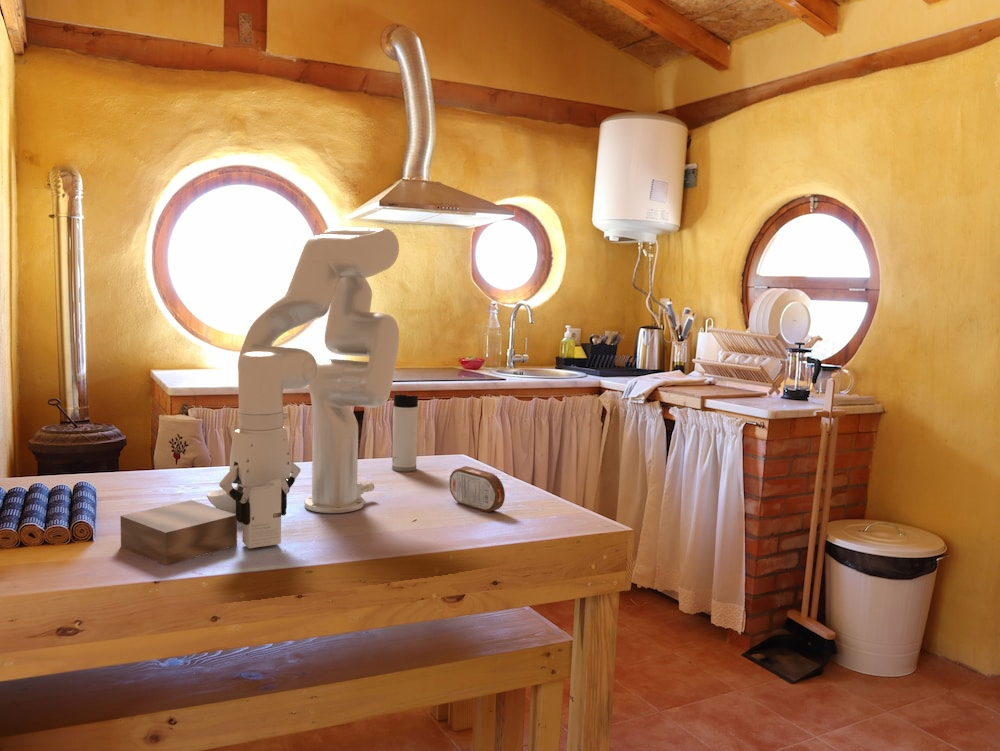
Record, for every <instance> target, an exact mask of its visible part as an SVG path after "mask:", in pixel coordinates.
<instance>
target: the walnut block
mask: <svg viewBox="0 0 1000 751" xmlns="http://www.w3.org/2000/svg"><path fill="white" fill-rule="evenodd" d="M119 519H120V548H122V549H125V550H126V551H127V550H128V551H130V552H132V553H134V554H137V555H139V554H140V555H139V556H141V555H142V557H144V558H146V557H147V559H148V560H149V559H150V560H151V561H154V562H156V561H157V562H156V563H158V562H159V563H158V564H161V565H163V566H170V565H173V564H176V563H180V562H184V561H186V560H190V558H191V559H194V558H197V557H196V556H198V557H200V556H199V555H201V556H204V555H203V554H205V555H207V554H206V553H208V554H211V553H214V551H215V552H218V551H221V550H220V549H222V550H225V549H228V548H227V547H229V548H231V546H232V547H235V546H234V545H236V546H238V521H237V518H236V513H230V512H227V511H224V510H220V509H218V508H217V507H215V506H212V505H211V506H210V505H207V504H205V503H201V502H198V501H195V500H193V499H192V500H191V499H190V500H186V501H183V502H177V503H171V504H169V505H164V506H159V507H155V508H154V507H153V508H150V509H146V510H141V511H137V512H131V513H128V514H123V515H120V518H119ZM224 548H225V549H224ZM217 550H218V551H217ZM210 552H211V553H210ZM193 557H194V558H193Z"/></svg>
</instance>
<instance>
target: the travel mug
mask: <svg viewBox="0 0 1000 751" xmlns="http://www.w3.org/2000/svg"><path fill="white" fill-rule="evenodd" d="M418 402H419V396H418V395H407V394H394V395H393V413H392V414H393V416H392V417H393V418H392V421H393V422H392V452H391V453H392V454H391V455H392V456H391V457H392V458H391V459H392V460H391V469H392V470H393V471H394V472H400V473H401V472H402V473H409V472H414V471H415V470H416V469H417V456H418V454H417V453H418V452H417V449H418V417H419V416H418V414H419V413H418V412H419V409H418V408H419V405H418V404H419V403H418Z"/></svg>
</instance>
